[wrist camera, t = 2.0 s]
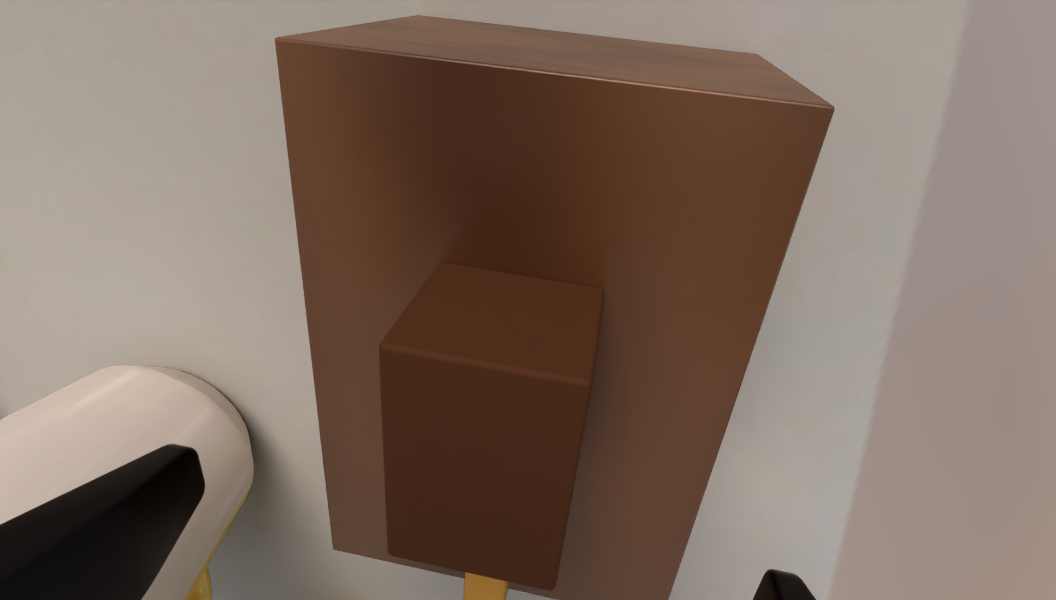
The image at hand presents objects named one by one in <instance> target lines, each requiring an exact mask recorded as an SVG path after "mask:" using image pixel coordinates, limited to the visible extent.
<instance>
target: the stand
mask: <svg viewBox="0 0 1056 600" xmlns="http://www.w3.org/2000/svg"><path fill="white" fill-rule="evenodd" d="M275 44H276V53H277V62H278V70H279V79H280V88H281V97H282V105H283V114H284V123H285V132H286V140H287V149H288V158H289V167H290V175H291V184H292V193H293V202H294V210H295V219H296V228H297V237H298V245H299V254H300V263H301V272H302V280H303V289H304V298H305V307H306V315H307V324H308V333H309V342H310V350H311V359H312V368H313V377H314V385H315V394H316V403H317V412H318V420H319V429H320V438H321V446H322V455H323V464H324V473H325V481H326V490H327V499H328V508H329V516H330V525H331V534H332V543H333V549H334V550H338V551H343V552H347V553H352V554H356V555H361V556H365V557H370V558H374V559H379V560H383V561H388V562H392V563H397V564H401V565H406V566H410V567H415V568H419V569H424V570H428V571H433V572H437V573H442V574H446V575H451V576H455V577H460V578H464V579H465V572H462V571H457V570H453V569H448V568H444V567H439V566H435V565H430V564H426V563H421V562H417V561H412V560H408V559H403V558H399V557H394V556H391V555H389V554H388V548H387V525H386V503H385V480H384V458H383V435H382V413H381V390H380V368H379V345H380V343H381V341H382V340H383V339H384V337H385V336H386V335H387V333H388V332H389V331H390V329H391V328H392V326H393V325H394V324H395V322H396V321H397V320H398V318H399V317H400V316H401V314H402V313H403V311H404V310H405V309H406V307H407V306H408V305H409V303H410V302H411V300H412V299H413V298H414V296H415V295H416V294H417V292H418V291H419V290H420V288H421V287H422V285H423V284H424V283H425V281H426V280H427V279H428V277H429V276H430V275H431V273H432V272H433V270H434V269H435V268H436V266H437V265H438V264H439V263H449V264H455V265H461V266H467V267H474V268H480V269H486V270H492V271H498V272H504V273H511V274H517V275H523V276H529V277H535V278H541V279H547V280H554V281H560V282H566V283H572V284H578V285H584V286H591V287H597V288H601V289H603V290H604V301H603V309H602V316H601V323H600V331H599V338H598V346H597V353H596V361H595V368H594V376H593V383H592V389H591V395H590V400H589V406H588V411H587V417H586V422H585V428H584V433H583V439H582V444H581V450H580V455H579V461H578V466H577V472H576V477H575V483H574V488H573V494H572V500H571V505H570V511H569V516H568V522H567V527H566V533H565V538H564V544H563V549H562V555H561V560H560V566H559V571H558V577H557V582H556V587H555V588H554V590H553V591H547V590H543V589H538V588H534V587H529V586H525V585H520V584H516V583H511V582H509V583H508V588H509V589H513V590H518V591H522V592H527V593H531V594H536V595H540V596H545V597H549V598H554V599H558V600H668V599H669V596H670V593H671V590H672V587H673V584H674V581H675V578H676V575H677V572H678V569H679V566H680V563H681V560H682V557H683V554H684V551H685V549H686V546H687V543H688V540H689V537H690V534H691V531H692V528H693V525H694V522H695V519H696V516H697V513H698V510H699V507H700V504H701V501H702V498H703V495H704V493H705V490H706V487H707V484H708V481H709V478H710V475H711V472H712V469H713V466H714V463H715V460H716V457H717V454H718V451H719V448H720V445H721V442H722V439H723V437H724V434H725V431H726V428H727V425H728V422H729V419H730V416H731V413H732V410H733V407H734V404H735V401H736V398H737V395H738V392H739V389H740V386H741V383H742V381H743V378H744V375H745V372H746V369H747V366H748V363H749V360H750V357H751V354H752V351H753V348H754V345H755V342H756V339H757V336H758V333H759V330H760V327H761V325H762V322H763V319H764V316H765V313H766V310H767V307H768V304H769V301H770V298H771V295H772V292H773V289H774V286H775V283H776V280H777V277H778V274H779V271H780V269H781V266H782V263H783V260H784V257H785V254H786V251H787V248H788V245H789V242H790V239H791V236H792V233H793V230H794V227H795V224H796V221H797V218H798V215H799V213H800V210H801V207H802V204H803V201H804V198H805V195H806V192H807V189H808V186H809V183H810V180H811V177H812V174H813V171H814V168H815V165H816V162H817V159H818V157H819V154H820V151H821V148H822V145H823V142H824V139H825V136H826V133H827V130H828V127H829V124H830V121H831V118H832V115H833V112H834V106H832V105H831V104H830V103H828V102H827V101H825V100H824V99H822V98H821V97H819V96H818V95H816V94H815V93H813V92H812V91H810V90H809V89H807V88H806V87H805V86H803V85H802V84H800V83H799V82H797V81H796V80H794V79H793V78H791V77H790V76H788V75H787V74H785V73H784V72H782V71H781V70H780V69H778V68H777V67H775V66H774V65H772V64H771V63H769V62H768V61H766V60H765V59H763V58H762V57H760V56H759V55H757V54H750V53H742V52H733V51H724V50H715V49H707V48H698V47H689V46H681V45H672V44H663V43H655V42H646V41H637V40H629V39H620V38H611V37H603V36H594V35H585V34H576V33H568V32H559V31H550V30H542V29H533V28H524V27H516V26H507V25H498V24H490V23H481V22H472V21H463V20H455V19H446V18H437V17H429V16H420V15H417V16H410V17H404V18H397V19H391V20H385V21H378V22H372V23H366V24H359V25H353V26H347V27H340V28H334V29H328V30H321V31H315V32H309V33H302V34H296V35H290V36H283V37H278V38H276V39H275Z"/></svg>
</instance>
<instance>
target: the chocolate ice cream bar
mask: <svg viewBox="0 0 1056 600" xmlns="http://www.w3.org/2000/svg"><path fill="white" fill-rule="evenodd" d="M603 301H604V290H603V289H601V288H597V287H591V286H584V285H578V284H572V283H566V282H560V281H554V280H547V279H541V278H535V277H529V276H523V275H517V274H511V273H504V272H498V271H492V270H486V269H480V268H474V267H467V266H461V265H455V264H449V263H439V264H438V265H437V266H436V268H435V269H434V270H433V272H432V273H431V275H430V276H429V277H428V279H427V280H426V281H425V283H424V284H423V285H422V287H421V288H420V290H419V291H418V292H417V294H416V295H415V296H414V298H413V299H412V300H411V302H410V303H409V305H408V306H407V307H406V309H405V310H404V311H403V313H402V314H401V316H400V317H399V318H398V320H397V321H396V322H395V324H394V325H393V326H392V328H391V329H390V331H389V332H388V333H387V335H386V336H385V337H384V339H383V340H382V341H381V343H380V345H379V368H380V390H381V413H382V435H383V458H384V480H385V503H386V525H387V548H388V554H389V555H391V556H394V557H399V558H403V559H408V560H412V561H417V562H421V563H426V564H430V565H435V566H439V567H444V568H448V569H453V570H457V571H462V572H465V583H464V600H506V595H507V591H508V583H509V582H511V583H516V584H520V585H525V586H529V587H534V588H538V589H543V590H547V591H553V590H554V588H555V587H556V582H557V577H558V571H559V566H560V560H561V555H562V549H563V544H564V538H565V533H566V527H567V522H568V516H569V511H570V505H571V500H572V494H573V488H574V483H575V477H576V472H577V466H578V461H579V455H580V450H581V444H582V439H583V433H584V428H585V422H586V417H587V411H588V406H589V400H590V395H591V389H592V383H593V376H594V368H595V361H596V353H597V346H598V338H599V331H600V323H601V316H602V309H603Z"/></svg>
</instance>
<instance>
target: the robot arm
mask: <svg viewBox="0 0 1056 600" xmlns="http://www.w3.org/2000/svg"><path fill="white" fill-rule="evenodd" d="M204 491H205V479H204V475H203V471H202V467H201V464H200V460H199V456H198V453H197V451H196V450H195V449H194V448H192V447H187V446H183V445H178V444H167V445H165V446H162V447H160V448H158V449H156V450H154V451H152V452H150V453H148V454H145V455H143V456H141V457H139V458H137V459H135V460H133V461H131V462H129V463H127V464H125V465H123V466H120V467H118V468H116V469H114V470H112V471H110V472H108V473H106V474H104V475H102V476H100V477H98V478H96V479H93V480H91V481H89V482H87V483H85V484H83V485H81V486H79V487H77V488H75V489H73V490H71V491H68V492H66V493H64V494H62V495H60V496H58V497H56V498H54V499H52V500H50V501H48V502H46V503H44V504H41V505H39V506H37V507H35V508H33V509H31V510H29V511H27V512H25V513H23V514H21V515H19V516H16V517H14V518H12V519H10V520H8V521H6V522H4V523H2V524H0V600H142V598H143V597H144V595H145V594H146V592H147V591H148V589H149V588H150V586H151V585H152V583H153V581H154V580H155V578H156V577H157V575H158V573H159V572H160V570H161V568H162V566H163V565H164V563H165V561H166V560H167V558H168V556H169V554H170V553H171V551H172V549H173V548H174V546H175V544H176V542H177V541H178V539H179V537H180V535H181V534H182V532H183V530H184V529H185V527H186V525H187V523H188V522H189V520H190V518H191V517H192V515H193V513H194V511H195V510H196V508H197V506H198V504H199V503H200V501H201V499H202V497H203V494H204ZM753 600H816V599H815V598H814V596H813V595H812V593H811V592H810V591H809V589H808V588H807V586H806V585H805V584H804V582H803V581H802V580H801V579H800V578H799V577H798V576H797V575H795V574H793V573H788V572H783V571H779V570H774V569H770V570H768V571H766V573H765V574H764V576H763V578H762V581H761V583H760V585H759V587H758V589H757V592H756V594H755V596H754V598H753Z"/></svg>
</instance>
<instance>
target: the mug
mask: <svg viewBox="0 0 1056 600" xmlns="http://www.w3.org/2000/svg"><path fill="white" fill-rule="evenodd" d="M167 444H178V445H183V446H187V447H192V448H194V449H195V450H196V451H197V453H198V456H199V460H200V464H201V467H202V471H203V475H204V479H205V491H204V494H203V497H202V499H201V501H200V503H199V504H198V506H197V508H196V510H195V511H194V513H193V515H192V517H191V518H190V520H189V522H188V523H187V525H186V527H185V529H184V530H183V532H182V534H181V535H180V537H179V539H178V541H177V542H176V544H175V546H174V548H173V549H172V551H171V553H170V554H169V556H168V558H167V560H166V561H165V563H164V565H163V566H162V568H161V570H160V572H159V573H158V575H157V577H156V578H155V580H154V581H153V583H152V585H151V586H150V588H149V589H148V591H147V592H146V594H145V595H144V597H143V598H142V600H211V598H212V587H211V581H210V576H209V572H208V568H207V565H208V564H209V562H210V560H211V558H212V556H213V555H214V553H215V551H216V549H217V547H218V546H219V544H220V542H221V540H222V539H223V537H224V535H225V533H226V532H227V530H228V528H229V527H230V525H231V523H232V521H233V520H234V518H235V516H236V515H237V513H238V511H239V509H240V508H241V506H242V504H243V503H244V501H245V499H246V497H247V495H248V493H249V491H250V488H251V485H252V481H253V475H254V463H253V457H252V451H251V444H250V439H249V434H248V431H247V427H246V425H245V423H244V421H243V419H242V417H241V416H240V414H239V413H238V411H237V410H236V408H235V407H234V406H233V405H232V404H231V403H230V402H229V401H228V399H227V398H226V397H224V396H223V395H222V394H221V393H220V392H219V391H217V390H216V389H215V388H214V387H212V386H211V385H209V384H208V383H206V382H204V381H203V380H201V379H199V378H197V377H195V376H193V375H191V374H188V373H186V372H182V371H179V370H175V369H170V368H161V367H150V366H135V365H119V366H112V367H107V368H104V369H101V370H98V371H95V372H93V373H91V374H89V375H87V376H85V377H83V378H81V379H79V380H77V381H75V382H73V383H71V384H69V385H67V386H65V387H63V388H61V389H59V390H57V391H56V392H54V393H52V394H50V395H48V396H46V397H44V398H42V399H40V400H38V401H36V402H34V403H32V404H30V405H28V406H26V407H24V408H22V409H20V410H18V411H16V412H14V413H12V414H10V415H8V416H6V417H4V418H2V419H0V524H2V523H4V522H6V521H8V520H10V519H12V518H14V517H16V516H19V515H21V514H23V513H25V512H27V511H29V510H31V509H33V508H35V507H37V506H39V505H41V504H44V503H46V502H48V501H50V500H52V499H54V498H56V497H58V496H60V495H62V494H64V493H66V492H68V491H71V490H73V489H75V488H77V487H79V486H81V485H83V484H85V483H87V482H89V481H91V480H93V479H96V478H98V477H100V476H102V475H104V474H106V473H108V472H110V471H112V470H114V469H116V468H118V467H120V466H123V465H125V464H127V463H129V462H131V461H133V460H135V459H137V458H139V457H141V456H143V455H145V454H148V453H150V452H152V451H154V450H156V449H158V448H160V447H162V446H165V445H167Z"/></svg>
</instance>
